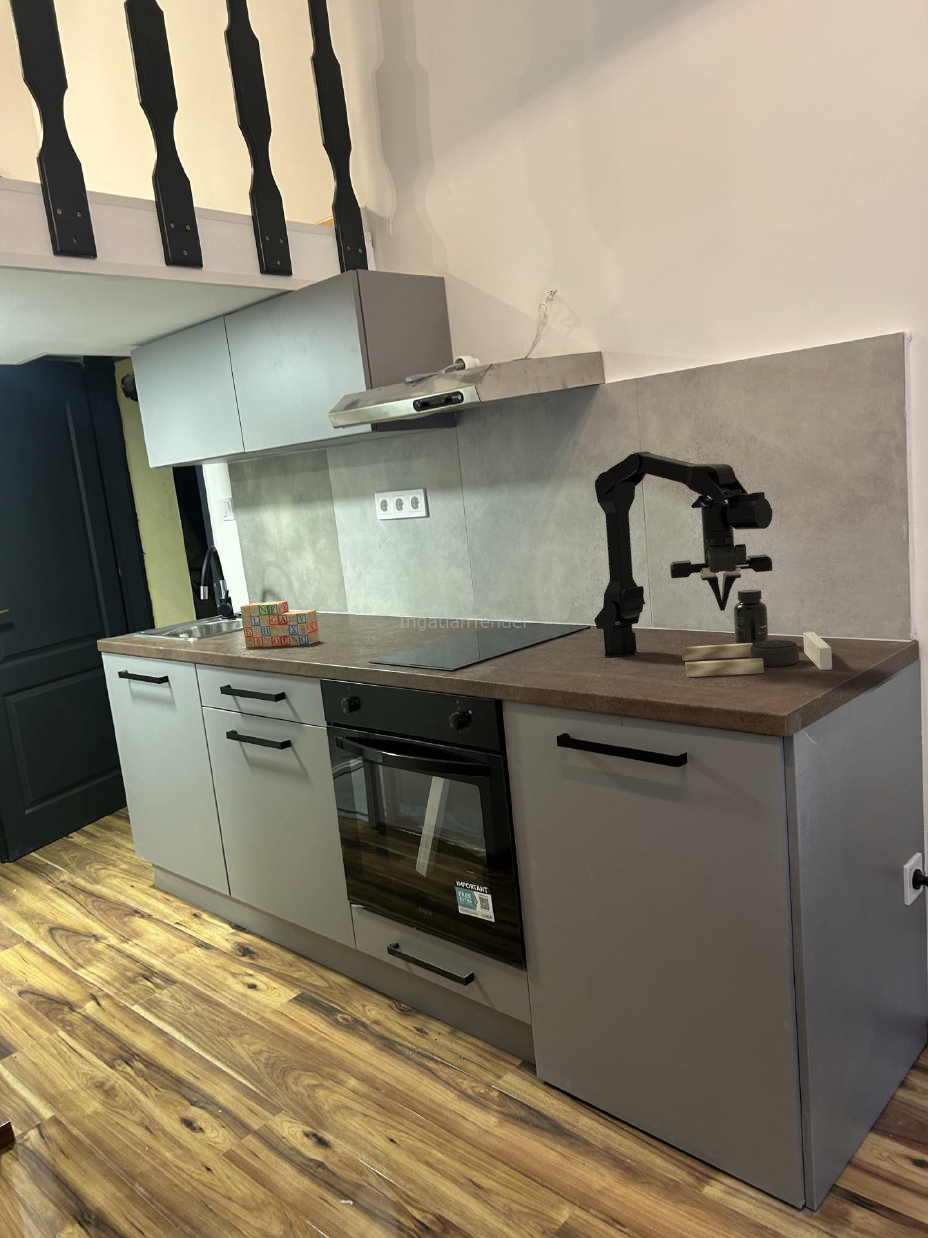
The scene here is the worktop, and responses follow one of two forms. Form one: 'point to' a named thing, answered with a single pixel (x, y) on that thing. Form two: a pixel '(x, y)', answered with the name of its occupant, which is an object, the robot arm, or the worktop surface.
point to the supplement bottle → (750, 618)
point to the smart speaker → (775, 652)
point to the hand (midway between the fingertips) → (722, 610)
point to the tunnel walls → (723, 665)
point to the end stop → (817, 650)
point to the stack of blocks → (278, 625)
